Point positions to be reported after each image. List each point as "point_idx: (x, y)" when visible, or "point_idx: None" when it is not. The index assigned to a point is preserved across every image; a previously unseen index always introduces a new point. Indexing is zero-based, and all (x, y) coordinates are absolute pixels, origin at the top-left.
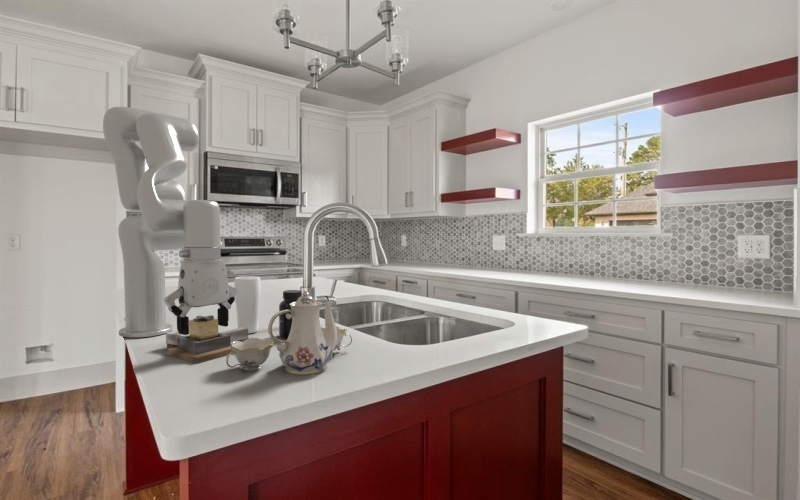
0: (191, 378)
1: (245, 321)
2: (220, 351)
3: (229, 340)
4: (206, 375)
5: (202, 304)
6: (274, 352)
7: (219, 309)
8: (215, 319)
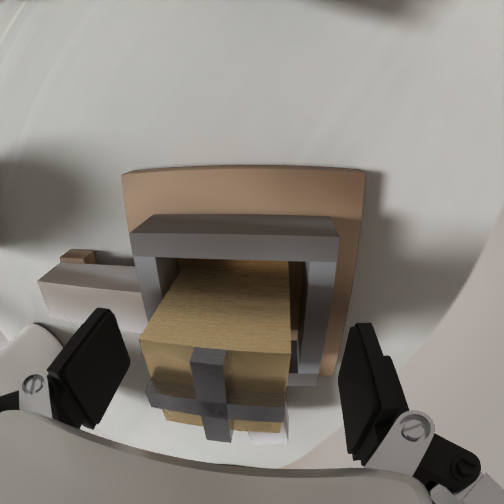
0: (456, 48)
1: (34, 360)
2: (233, 171)
3: (145, 224)
4: (413, 21)
5: (280, 486)
6: (73, 61)
7: (88, 416)
8: (154, 349)
